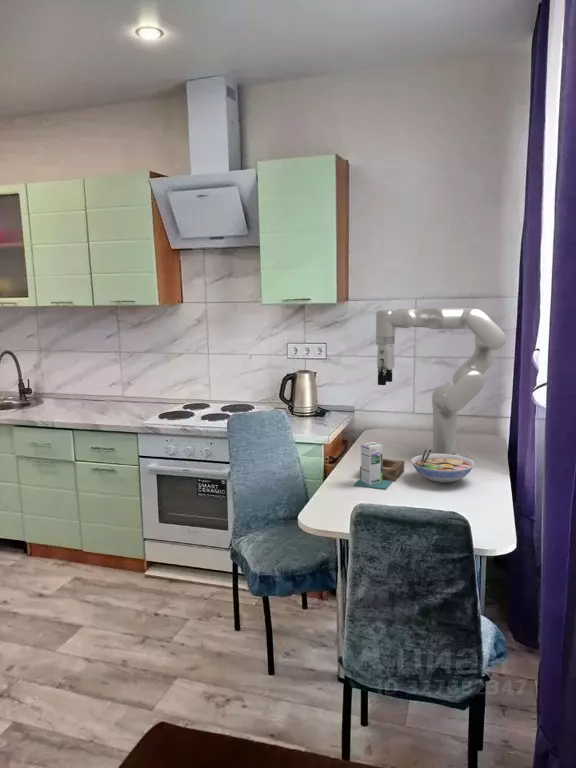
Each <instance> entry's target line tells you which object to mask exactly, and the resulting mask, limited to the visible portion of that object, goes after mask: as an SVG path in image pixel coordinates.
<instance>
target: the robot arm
mask: <svg viewBox="0 0 576 768" xmlns="http://www.w3.org/2000/svg"><path fill="white" fill-rule="evenodd" d="M396 328H399V329H401V328H402V329H410V328H424V329H425V328H427V329H431V330H470V331H471V332H472V333H473V335H474V343H475V348H474V351H473V353H472V354H471V356H470V357H469V358H468V359H467V360H466V361H465V362H464V363H463V364H462V365H461V366H460V367H459V368H458V369H457V370H455V372H454V373H453V375H452V383H453V385H452V386H450V385H449V384H448V385H447V384H441V385H439V386H437V387H436V388H434V390H433V392H432V395H431V404H432V449H431V452H432V453H431V454H451V455H458V456H462V457H466V458H468V454H466V453H460V452H459V450H458V449H457V435H458V434H457V432H458V429H457V428H458V427H457V426H458V414H457V413H458V412H460V411H462V410H463V409H464V408H465V407H467V405H468V404H469V403H471V401H472V400H474V398H475V397H477V395H479V393H480V392H481V391H482V390H483V388H484V386H485V376H484V374H486V372H487V371H488V370H489V369H490V368H491V367H492V364H494V361H495V357H496V351H498V350H500V349H502V348H503V347H504V346H505V344H506V340H507V339H506V337H507V336H506V335H505V332H504V331H503V330H502V329H501V328H500V327H499V326H498V325H497V324H496V323H495V322H494V321H493V320H492V319H491V317H489V315H487V314H486V313H485V312H484V311H482V310H481V309H479V308H470V307H469V308H468V307H467V308H466V307H465V308H464V307H461V308H460V307H432V308H398V309H396V310H392V309H380V310H377V311H376V314H375V346H377V354H376V355H377V357H376V365H377V386H386V385H387V383H392V382H393V369H394V368H395V345H396Z"/></svg>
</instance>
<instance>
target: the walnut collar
mask: <svg viewBox="0 0 576 768" xmlns="http://www.w3.org/2000/svg"><path fill="white" fill-rule="evenodd" d="M382 472H383V480H388V481H392V483H396V482H397V480H398V479H399V478H400V477H401V476H402V475H403V473H405V460H403V459H401V460H400V459H393V458H392V459H391V458H390V459H389V458H382ZM360 478H361V465H360V466H359V479H360Z"/></svg>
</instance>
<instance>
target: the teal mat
mask: <svg viewBox="0 0 576 768" xmlns="http://www.w3.org/2000/svg"><path fill="white" fill-rule="evenodd" d="M392 484H393V482H392V481H388V480H383V482H382V483H378V484H373V485H368V484H366V483H364V482H362V481H361V478H360V477H359V479H358V480H357V481H355V483H353V487H359V486H361V487H362V488H367V487H369V488H370V489H377V490H384V491H385V490H387V489H388V488H389V487H390V486H391V485H392ZM361 487H360V488H361ZM369 488H368V489H369Z"/></svg>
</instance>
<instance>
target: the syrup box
mask: <svg viewBox="0 0 576 768" xmlns="http://www.w3.org/2000/svg"><path fill="white" fill-rule="evenodd" d="M382 459H383V444H381V443H379V442H377V441H376V442H375V441H372V442H367V443H361V444H360V466H361V481H362V482H364V483H366V484H368V485H373V484H378V483H382V482H383V472H382Z"/></svg>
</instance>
